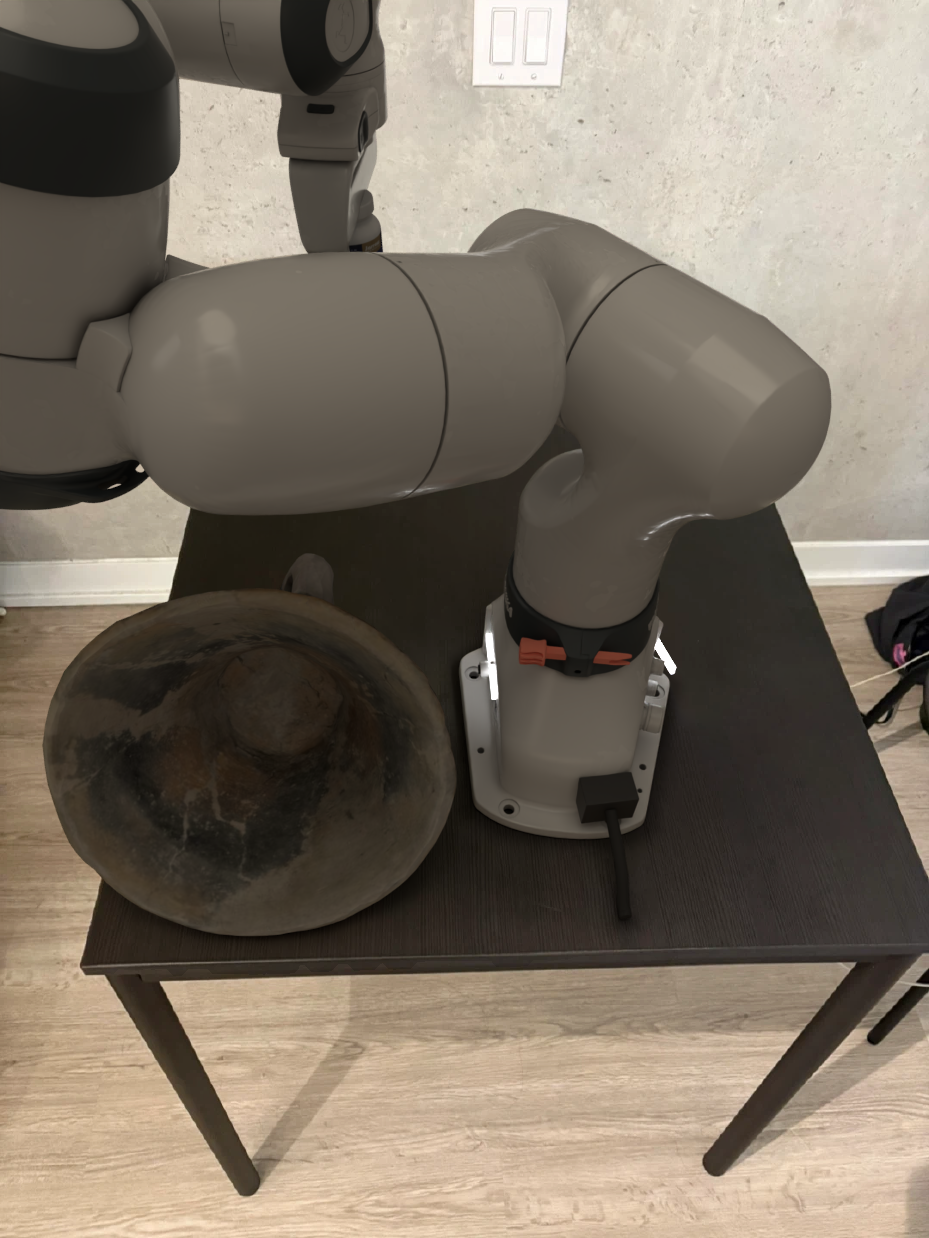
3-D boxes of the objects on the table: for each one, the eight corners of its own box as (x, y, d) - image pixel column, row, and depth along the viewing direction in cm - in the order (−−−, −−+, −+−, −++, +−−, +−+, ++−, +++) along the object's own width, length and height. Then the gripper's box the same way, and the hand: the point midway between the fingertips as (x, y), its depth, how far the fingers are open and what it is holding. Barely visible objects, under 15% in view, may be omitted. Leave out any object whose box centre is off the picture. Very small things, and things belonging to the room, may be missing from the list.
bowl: (175, 857, 75) (125, 985, 61) (55, 577, 65) (-36, 653, 51) (474, 784, 75) (492, 896, 61) (397, 493, 65) (397, 546, 51)
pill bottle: (380, 314, 84) (370, 214, 76) (323, 310, 85) (308, 209, 77) (392, 283, 88) (384, 184, 80) (338, 279, 88) (324, 180, 80)
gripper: (320, 51, 79) (334, 203, 90) (271, 144, 66) (295, 308, 77) (388, 54, 79) (394, 206, 89) (352, 149, 66) (365, 313, 76)
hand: (348, 254), depth 83 cm, fingers closed on pill bottle, 6 cm apart
